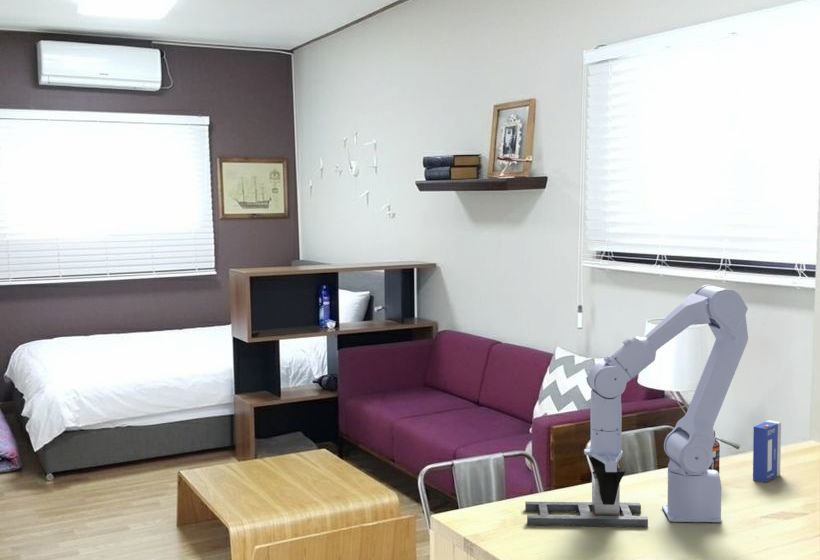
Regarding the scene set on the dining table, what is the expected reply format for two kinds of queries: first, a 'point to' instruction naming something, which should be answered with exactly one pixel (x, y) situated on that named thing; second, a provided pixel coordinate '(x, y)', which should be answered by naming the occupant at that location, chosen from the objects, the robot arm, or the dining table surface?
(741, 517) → the dining table surface
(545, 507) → the rail
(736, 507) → the dining table surface
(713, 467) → the supplement bottle
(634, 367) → the robot arm
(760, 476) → the walkman
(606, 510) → the steel peg
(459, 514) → the dining table surface
